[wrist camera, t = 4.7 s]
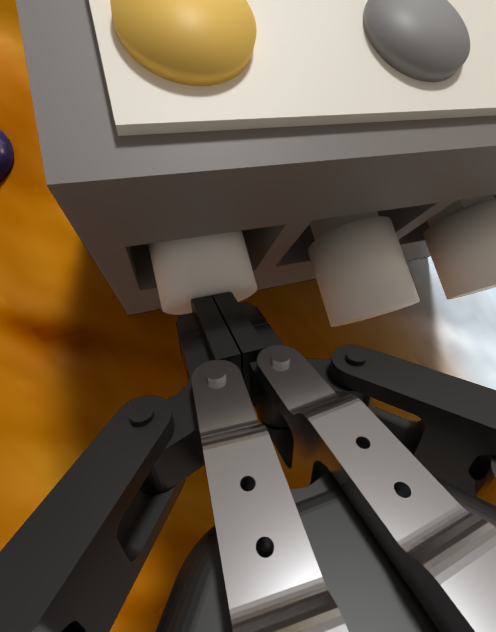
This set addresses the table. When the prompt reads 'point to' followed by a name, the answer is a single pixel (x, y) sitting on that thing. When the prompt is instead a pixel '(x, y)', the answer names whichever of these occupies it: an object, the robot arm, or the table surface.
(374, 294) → the button middle
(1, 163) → the toy lamp
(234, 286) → the button left
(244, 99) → the button box
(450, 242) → the button right
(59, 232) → the table surface
